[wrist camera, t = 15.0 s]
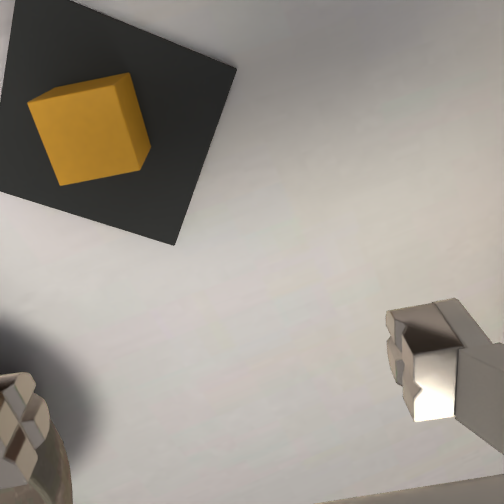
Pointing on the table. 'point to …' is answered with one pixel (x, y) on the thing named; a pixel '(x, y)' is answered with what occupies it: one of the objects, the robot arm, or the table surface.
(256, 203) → the table surface
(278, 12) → the table surface
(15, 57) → the mat
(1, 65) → the table surface
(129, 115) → the block
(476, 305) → the table surface
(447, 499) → the robot arm
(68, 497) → the bowl
